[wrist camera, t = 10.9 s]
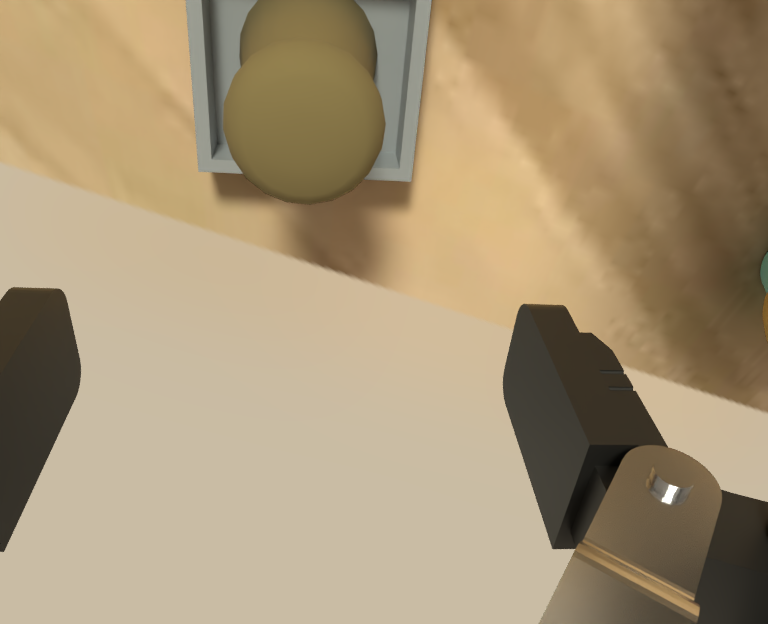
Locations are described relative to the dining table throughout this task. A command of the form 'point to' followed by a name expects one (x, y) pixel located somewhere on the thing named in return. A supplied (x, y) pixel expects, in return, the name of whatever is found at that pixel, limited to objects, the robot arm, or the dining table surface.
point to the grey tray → (392, 78)
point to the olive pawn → (305, 99)
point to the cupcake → (767, 280)
